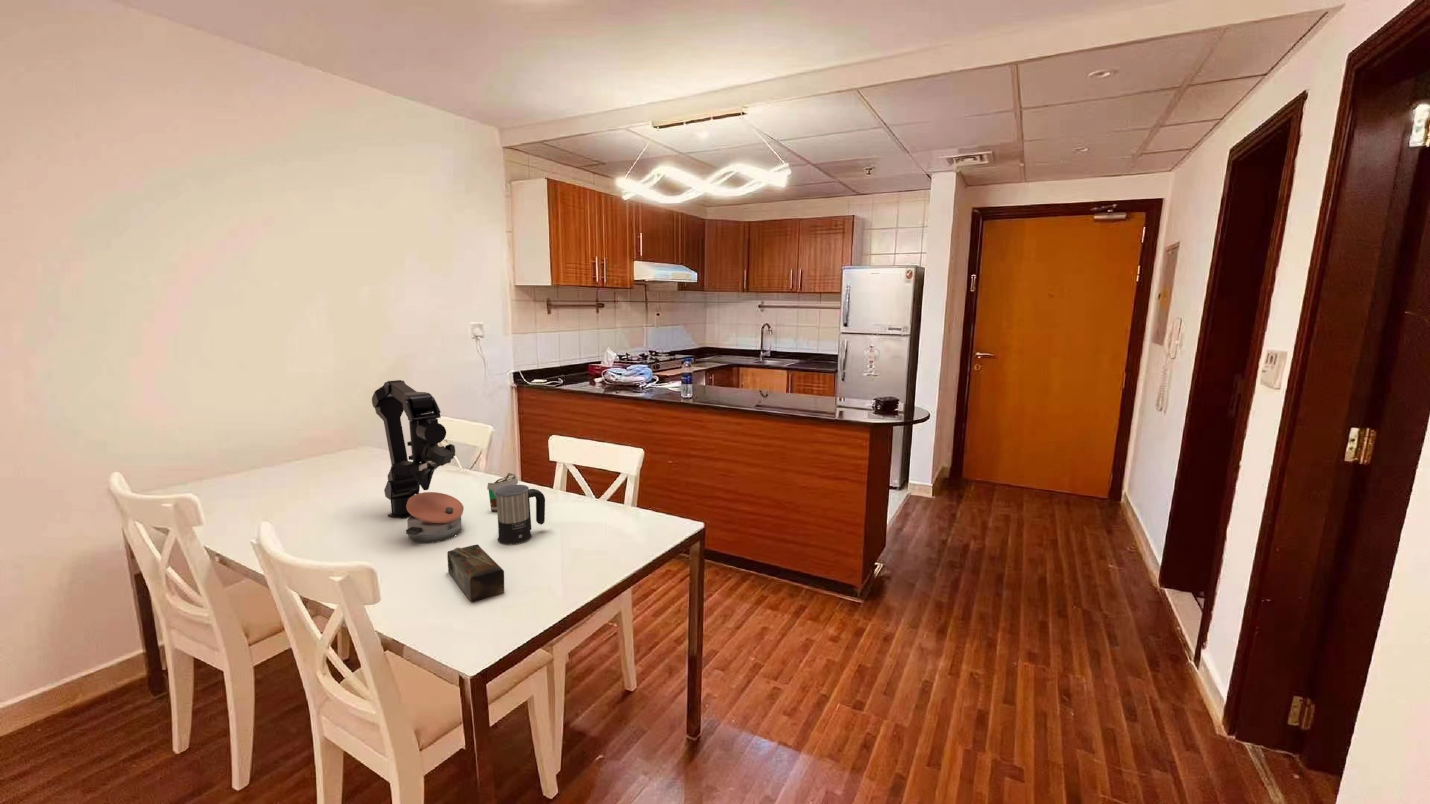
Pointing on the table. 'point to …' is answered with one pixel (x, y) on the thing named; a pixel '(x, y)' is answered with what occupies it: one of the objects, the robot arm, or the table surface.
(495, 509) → the food container
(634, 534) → the table surface
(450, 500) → the lid
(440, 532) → the pot
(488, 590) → the beverage carton
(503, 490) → the milk frother
